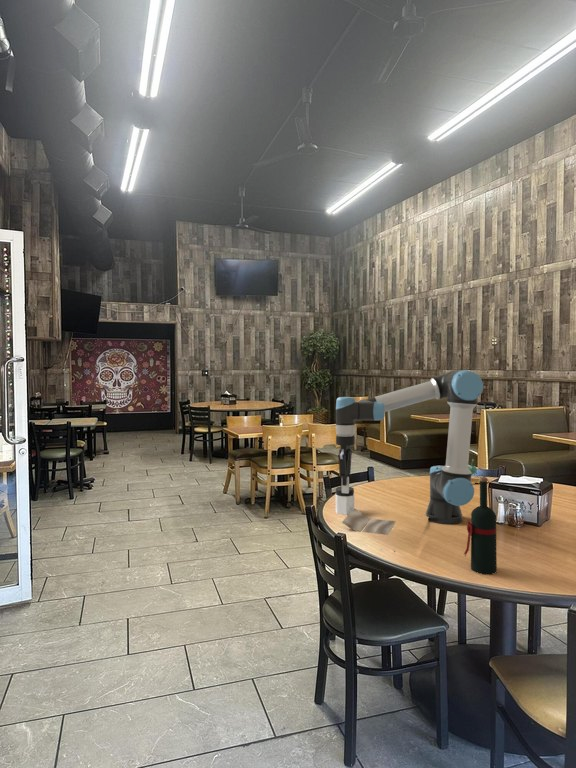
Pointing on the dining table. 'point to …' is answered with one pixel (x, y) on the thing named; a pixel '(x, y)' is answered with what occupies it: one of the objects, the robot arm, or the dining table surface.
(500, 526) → the dining table surface
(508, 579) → the dining table surface
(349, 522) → the plank
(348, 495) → the jar
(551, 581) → the dining table surface
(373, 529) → the grey flat panel
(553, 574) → the dining table surface
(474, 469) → the frog figurine
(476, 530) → the wine bottle
